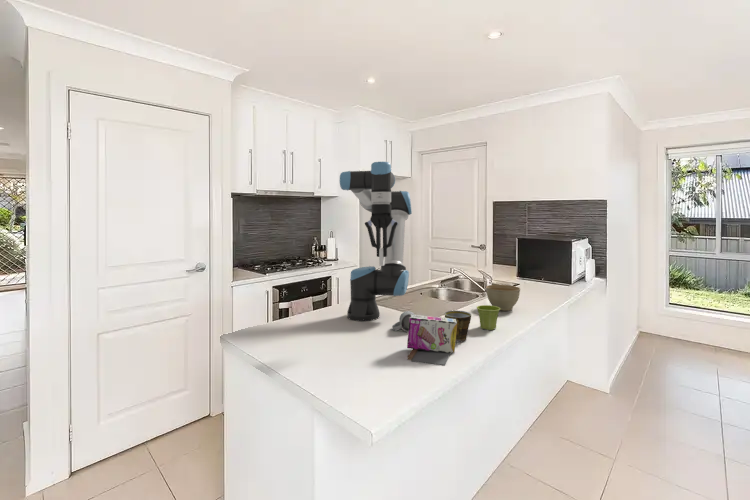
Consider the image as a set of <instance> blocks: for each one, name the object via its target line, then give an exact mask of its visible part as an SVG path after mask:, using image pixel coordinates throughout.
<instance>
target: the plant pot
mask: <svg viewBox="0 0 750 500" xmlns="http://www.w3.org/2000/svg"><path fill="white" fill-rule="evenodd" d="M476 309H477V312H478V319H479V325H480V326H479V327H480V328H481V329H483V330H488V331H493V330H495V329H496V328H497V322H498V316H499V313H500V311H501V310H500V308H499V307H497V306H492V305H491V304H490V305H485V304H484V305H483V304H482V305H478V306H476Z"/></svg>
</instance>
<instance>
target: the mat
mask: <svg viewBox="0 0 750 500" xmlns="http://www.w3.org/2000/svg"><path fill="white" fill-rule="evenodd" d="M450 355H451V353H446V352H437V351H428V350H418V351H417V353H416V354H415V356H414V357H413V359H412V360H410V361H411V362H412V363H413V362H414V363H422V364H429V365H430V364H431V365H436V366H437V365H438V366H446V364H447V362H448V360H449V357H450Z"/></svg>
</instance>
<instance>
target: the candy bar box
mask: <svg viewBox="0 0 750 500" xmlns="http://www.w3.org/2000/svg"><path fill="white" fill-rule="evenodd" d="M456 332H457V320H456V319H452V318H445V317H442V316H440V317H439V316H431V315H430V316H429V315H423V314H421V315H420V314H415V315H412V314H410V317H409V329H408V332H407V342H406V343H407V345H406V347H407V349H410V350H412V349H419V350H428V351H437V352H446V353H450V354H455V348H456V342H455V341H456Z"/></svg>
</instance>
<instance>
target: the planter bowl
mask: <svg viewBox="0 0 750 500" xmlns="http://www.w3.org/2000/svg"><path fill="white" fill-rule="evenodd" d="M485 288H486V297H487V299H488V301H489V304H490V306H497V307H499V308H500V310H499V311H501V312H502V311H503V312H504V311H505V312H507V311H513V309H514V307H515V306H516V304H517V302H518V301H519V298H520V294H521V288H520V287H518V286H514V285H508V284H490V285H489V284H488V285H487V286H486V287H485Z"/></svg>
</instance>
